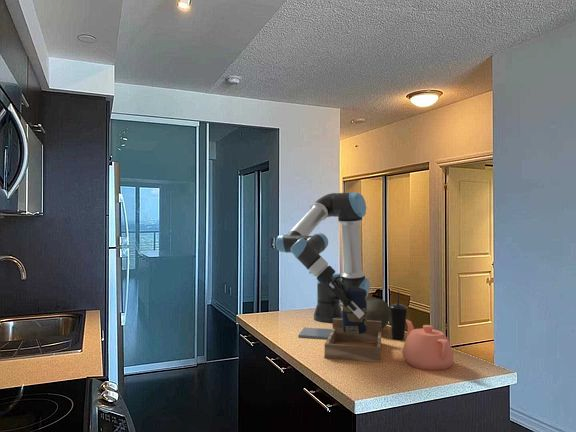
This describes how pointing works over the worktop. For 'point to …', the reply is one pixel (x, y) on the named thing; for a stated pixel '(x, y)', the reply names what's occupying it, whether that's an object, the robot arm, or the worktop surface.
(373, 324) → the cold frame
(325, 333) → the slate tile
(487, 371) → the worktop surface
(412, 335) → the teapot
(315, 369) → the worktop surface
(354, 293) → the canister
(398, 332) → the drinking cup
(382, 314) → the kiwi fruit
